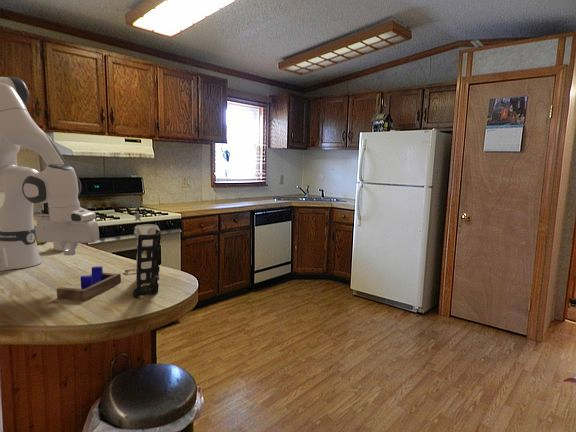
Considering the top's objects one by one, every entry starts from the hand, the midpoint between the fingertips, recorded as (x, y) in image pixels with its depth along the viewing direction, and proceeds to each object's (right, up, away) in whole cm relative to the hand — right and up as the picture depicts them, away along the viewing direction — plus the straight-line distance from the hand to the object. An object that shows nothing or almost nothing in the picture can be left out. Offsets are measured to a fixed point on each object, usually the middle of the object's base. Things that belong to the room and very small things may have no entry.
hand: (69, 255), depth 128 cm
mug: (-52, -1, +63) cm, 82 cm away
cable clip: (+8, -11, -2) cm, 14 cm away
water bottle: (+23, -10, +9) cm, 27 cm away
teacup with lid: (-33, -3, +53) cm, 63 cm away
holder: (+28, -12, -4) cm, 31 cm away
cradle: (+8, -11, -3) cm, 14 cm away
